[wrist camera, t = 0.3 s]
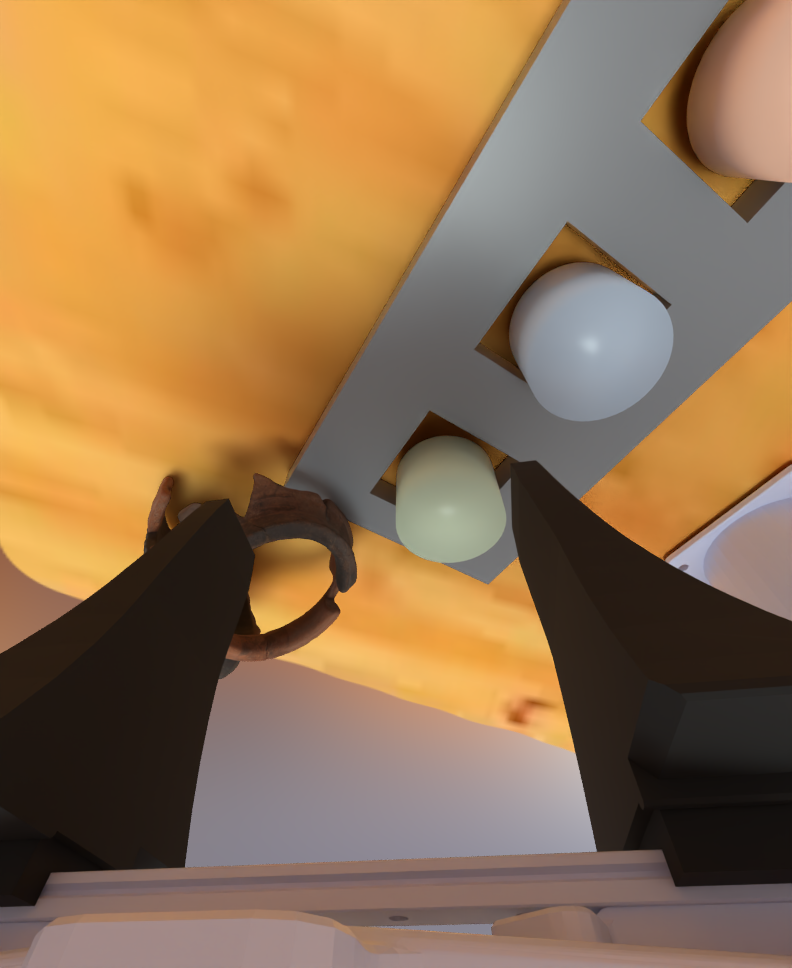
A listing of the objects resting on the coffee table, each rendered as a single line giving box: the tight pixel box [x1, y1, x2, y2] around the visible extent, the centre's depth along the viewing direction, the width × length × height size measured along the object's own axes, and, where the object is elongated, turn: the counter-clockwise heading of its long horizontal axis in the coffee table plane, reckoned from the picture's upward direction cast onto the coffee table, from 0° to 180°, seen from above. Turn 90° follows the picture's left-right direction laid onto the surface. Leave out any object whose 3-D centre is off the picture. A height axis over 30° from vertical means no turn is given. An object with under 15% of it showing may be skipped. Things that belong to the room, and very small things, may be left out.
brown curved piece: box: [144, 473, 357, 679], centre depth 23 cm, size 12×10×8 cm
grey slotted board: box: [284, 0, 792, 584], centre depth 18 cm, size 12×25×2 cm, turn 148°
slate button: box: [509, 262, 674, 421], centre depth 16 cm, size 4×4×3 cm
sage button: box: [396, 436, 506, 563], centre depth 20 cm, size 4×4×3 cm
